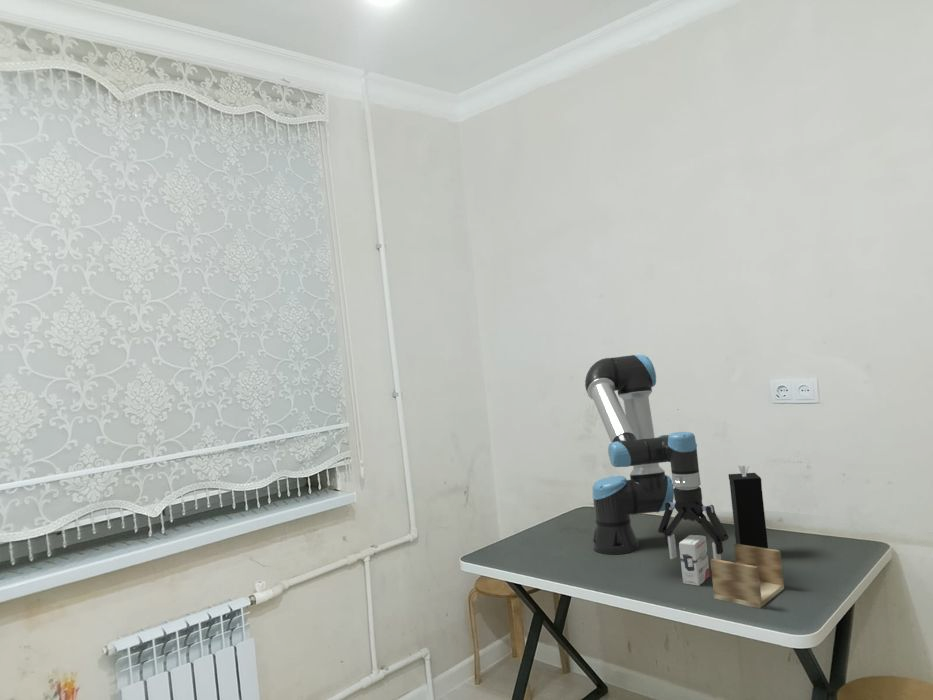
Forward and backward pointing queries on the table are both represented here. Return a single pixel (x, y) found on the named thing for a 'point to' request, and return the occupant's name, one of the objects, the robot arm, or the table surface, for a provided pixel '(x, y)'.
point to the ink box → (694, 559)
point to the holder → (748, 576)
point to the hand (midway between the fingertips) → (695, 561)
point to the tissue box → (748, 508)
